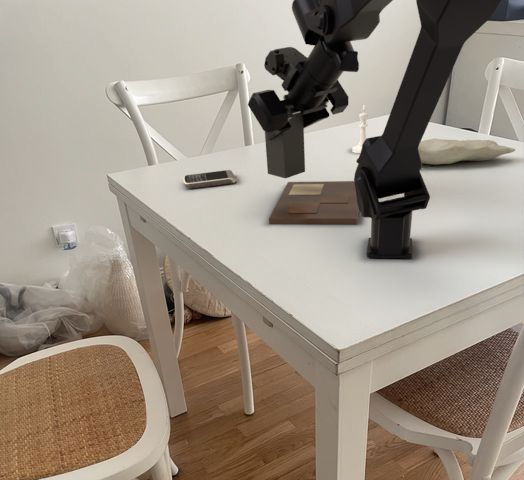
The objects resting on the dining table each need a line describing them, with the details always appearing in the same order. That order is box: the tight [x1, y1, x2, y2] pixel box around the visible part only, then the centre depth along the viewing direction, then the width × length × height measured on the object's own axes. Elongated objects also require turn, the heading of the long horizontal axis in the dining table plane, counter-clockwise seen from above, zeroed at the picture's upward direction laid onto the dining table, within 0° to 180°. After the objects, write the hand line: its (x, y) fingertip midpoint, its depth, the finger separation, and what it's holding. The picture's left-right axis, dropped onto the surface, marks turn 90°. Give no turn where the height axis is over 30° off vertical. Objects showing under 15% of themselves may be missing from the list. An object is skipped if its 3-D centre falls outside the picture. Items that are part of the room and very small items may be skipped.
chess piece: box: [351, 104, 369, 154], centre depth 124 cm, size 5×5×10 cm
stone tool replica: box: [418, 138, 516, 166], centre depth 113 cm, size 15×5×25 cm
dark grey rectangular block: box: [264, 112, 306, 179], centre depth 97 cm, size 5×5×12 cm
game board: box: [268, 180, 360, 225], centre depth 99 cm, size 20×15×1 cm
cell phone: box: [182, 169, 237, 190], centre depth 115 cm, size 6×11×1 cm, turn 99°
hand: (279, 135), depth 98 cm, fingers closed on dark grey rectangular block, 5 cm apart
